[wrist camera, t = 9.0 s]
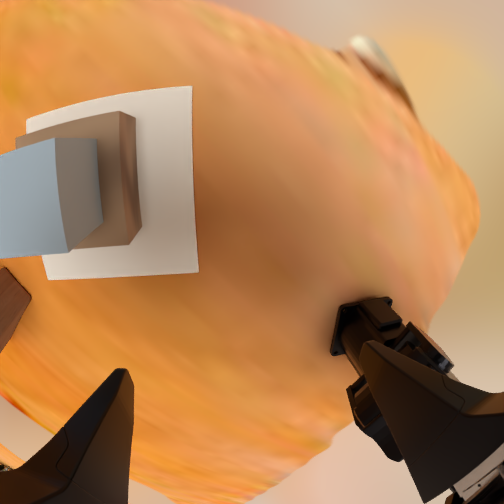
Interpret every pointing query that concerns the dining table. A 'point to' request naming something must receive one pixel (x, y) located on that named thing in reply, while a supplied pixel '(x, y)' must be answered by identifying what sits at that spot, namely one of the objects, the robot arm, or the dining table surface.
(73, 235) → the gray cube
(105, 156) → the walnut base
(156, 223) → the felt mat
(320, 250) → the dining table surface
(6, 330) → the wooden block
